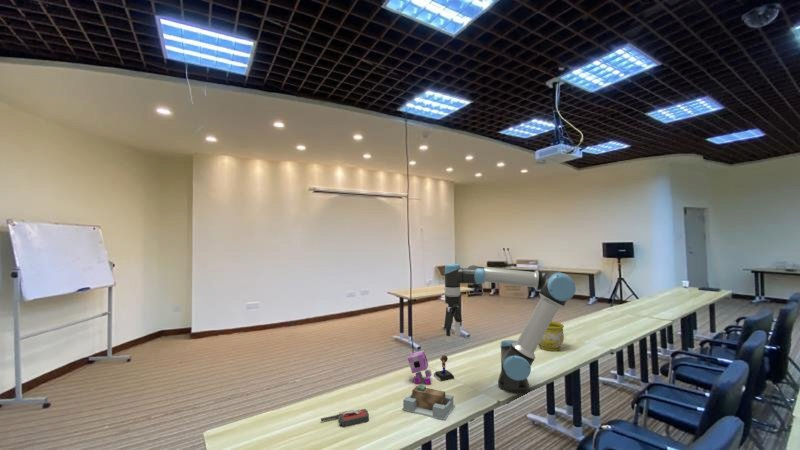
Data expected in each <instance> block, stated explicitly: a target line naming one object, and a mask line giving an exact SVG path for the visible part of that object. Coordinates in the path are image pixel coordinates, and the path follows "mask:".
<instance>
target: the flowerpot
mask: <svg viewBox="0 0 800 450" xmlns="http://www.w3.org/2000/svg"><path fill="white" fill-rule="evenodd" d="M564 339H565V335H564V324H563V323H561V322H557V321H553V320H552V321H551V323H550V325H549V326H548V328H547V330H546V332H545V334H544V335H543V337H542V339H541V341H540V343H539V344H538V346H537V347H539V348H540V349H542V350H544V351H549V352H557V351H560V349H561V348H562V345H563V343H564V341H565V340H564Z"/></svg>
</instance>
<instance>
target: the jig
mask: <svg viewBox="0 0 800 450" xmlns="http://www.w3.org/2000/svg"><path fill="white" fill-rule="evenodd" d="M445 401H446V405H441V404H437V403H435V404H434V406H433V411H432V410H428V409H424V408H419V407H417V399H414V398H412V393H410V395H408V396H405V397H404V398H403V400H402V403H403V404H402V405H403V406H402V408H401V409H402V410H403V411H405V412H410V413H415V414H418V415H423V416H426V417H431V418H434V417H435V419H438V418H440V419H439V420H442V419H443V421H446V420H447V418H448V417H449V415H450V414H451V412H452V411H453V410H454V408H455V407H456V406H455V404H454V395H450V394H446V393H445Z"/></svg>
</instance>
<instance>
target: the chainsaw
mask: <svg viewBox="0 0 800 450" xmlns="http://www.w3.org/2000/svg"><path fill="white" fill-rule="evenodd" d="M332 419H337V421H338V423H339V426H341V427H342V428H346V427H350V426H355V425H358V424H363V423H364V424H365V423H368V422H369V421H370V414H369V411H368V410H367V408H361V409H360V408H359V409H357V410H354V409H350V410H345V411H340V412H338V414H336V415H331V416H326V417H322V418H320V421H322V422H323V421H329V420H332Z"/></svg>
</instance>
